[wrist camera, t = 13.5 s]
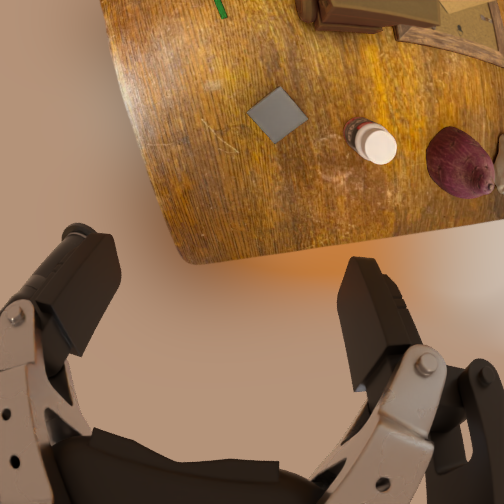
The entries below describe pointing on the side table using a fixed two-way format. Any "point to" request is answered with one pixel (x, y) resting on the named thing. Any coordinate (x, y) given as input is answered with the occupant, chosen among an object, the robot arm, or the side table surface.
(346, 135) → the pill bottle
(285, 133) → the grey block
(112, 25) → the side table surface
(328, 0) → the wooden toy train
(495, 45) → the picture frame
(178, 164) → the side table surface
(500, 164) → the decorative stone
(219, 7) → the decorative flower
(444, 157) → the vegetable
